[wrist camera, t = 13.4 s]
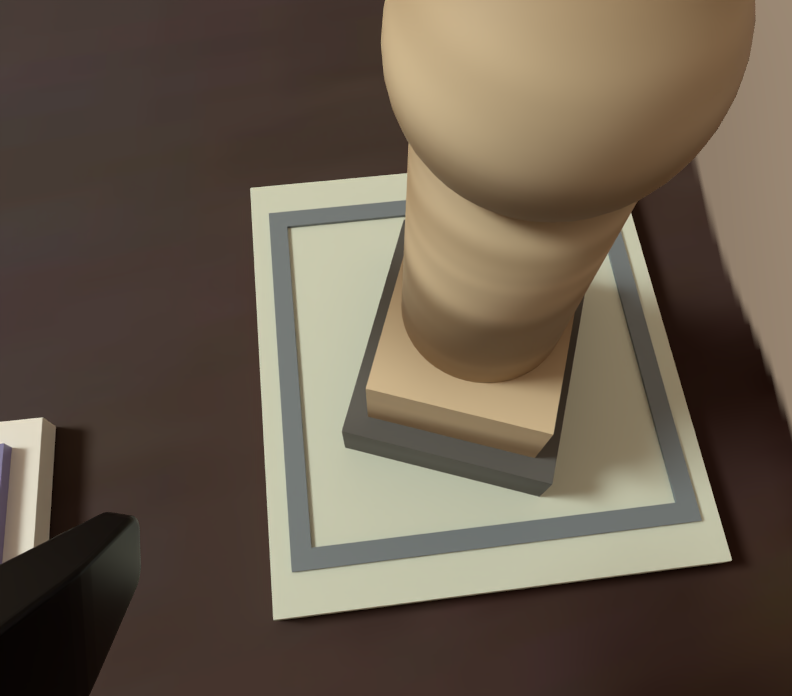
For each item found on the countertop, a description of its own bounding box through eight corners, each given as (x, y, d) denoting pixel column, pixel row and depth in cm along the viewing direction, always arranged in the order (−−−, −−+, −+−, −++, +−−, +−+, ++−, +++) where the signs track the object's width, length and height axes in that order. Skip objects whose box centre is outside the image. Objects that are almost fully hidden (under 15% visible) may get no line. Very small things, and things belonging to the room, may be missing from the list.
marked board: (721, 563, 18) (733, 560, 17) (277, 620, 17) (273, 619, 16) (608, 166, 22) (614, 152, 22) (253, 199, 22) (249, 186, 21)
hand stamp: (539, 496, 18) (876, 171, 6) (345, 447, 18) (261, 43, 6) (576, 288, 20) (874, -272, 8) (402, 248, 20) (427, -343, 8)
